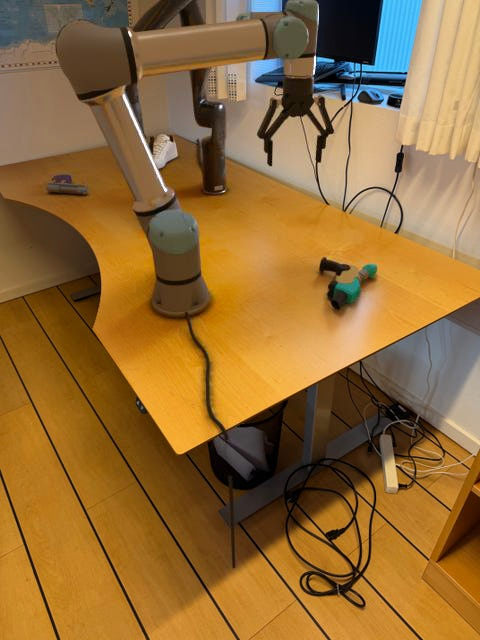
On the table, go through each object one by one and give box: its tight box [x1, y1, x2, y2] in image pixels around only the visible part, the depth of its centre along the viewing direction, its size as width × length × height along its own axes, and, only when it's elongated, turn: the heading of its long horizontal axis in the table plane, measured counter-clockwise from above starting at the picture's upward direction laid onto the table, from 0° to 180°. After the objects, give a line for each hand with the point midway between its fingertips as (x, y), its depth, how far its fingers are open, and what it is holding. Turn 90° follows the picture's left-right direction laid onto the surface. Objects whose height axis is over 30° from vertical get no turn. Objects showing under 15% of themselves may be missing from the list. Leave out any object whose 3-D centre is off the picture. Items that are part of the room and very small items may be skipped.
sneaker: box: [152, 133, 179, 170], centre depth 214 cm, size 10×29×12 cm, turn 163°
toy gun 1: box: [45, 173, 89, 195], centre depth 192 cm, size 4×19×15 cm
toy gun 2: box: [318, 256, 378, 312], centre depth 129 cm, size 4×26×15 cm
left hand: (294, 163), depth 129 cm, fingers open, 13 cm apart
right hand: (137, 167), depth 167 cm, fingers closed on ballet flat, 5 cm apart
